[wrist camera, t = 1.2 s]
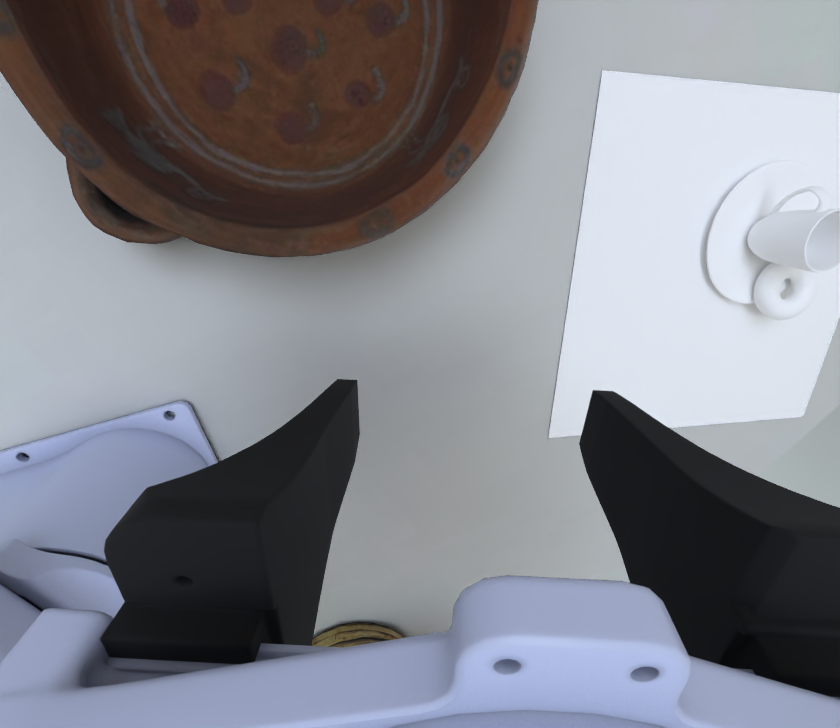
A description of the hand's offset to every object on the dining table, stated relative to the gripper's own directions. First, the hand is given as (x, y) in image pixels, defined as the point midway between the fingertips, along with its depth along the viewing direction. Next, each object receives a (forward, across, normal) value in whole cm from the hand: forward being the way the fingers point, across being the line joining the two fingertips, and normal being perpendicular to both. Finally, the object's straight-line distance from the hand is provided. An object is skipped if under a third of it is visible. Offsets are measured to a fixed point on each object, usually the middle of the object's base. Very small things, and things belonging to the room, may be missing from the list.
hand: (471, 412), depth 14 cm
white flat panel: (+15, -16, 0) cm, 22 cm away
